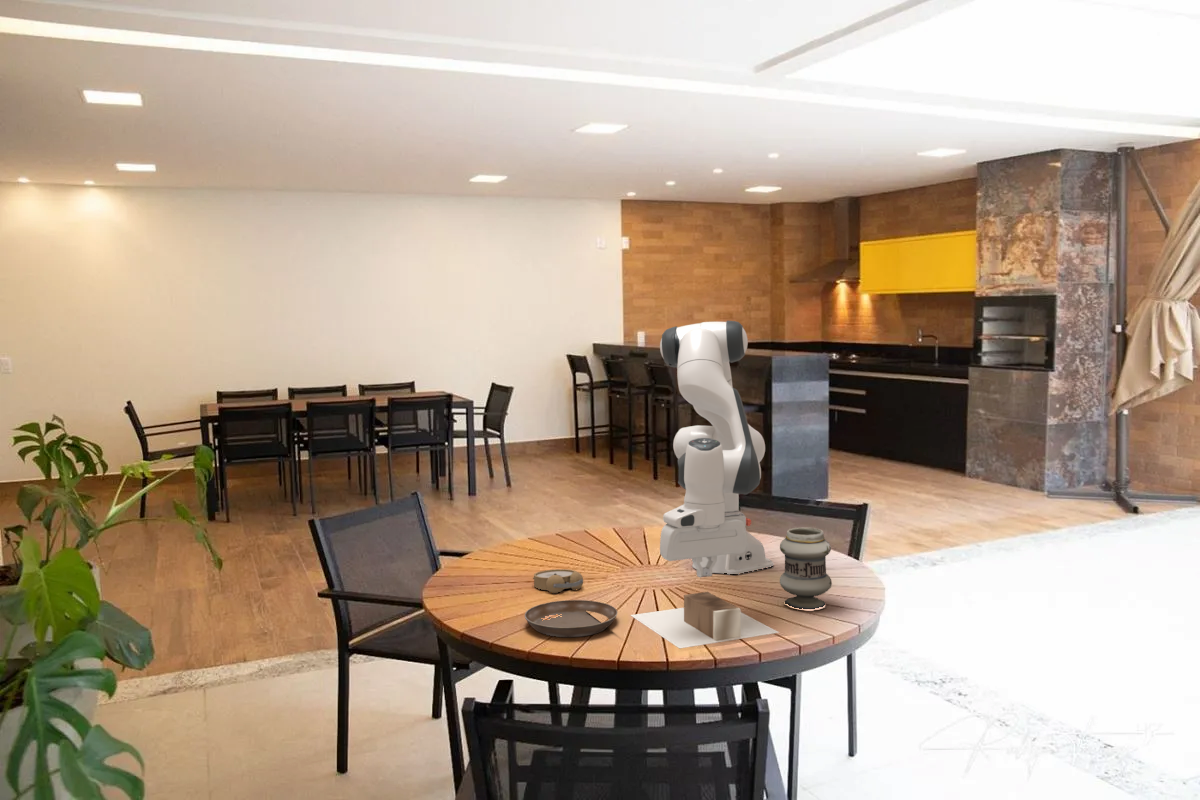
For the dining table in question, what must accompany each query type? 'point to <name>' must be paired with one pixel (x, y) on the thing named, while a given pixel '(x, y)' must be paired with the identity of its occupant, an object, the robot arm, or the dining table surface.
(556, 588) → the alarm clock
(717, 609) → the walnut block
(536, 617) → the plant saucer
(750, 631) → the white mat
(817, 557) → the apothecary jar
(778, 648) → the dining table surface
